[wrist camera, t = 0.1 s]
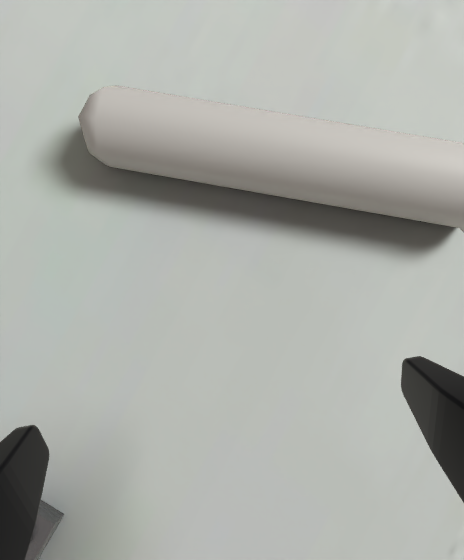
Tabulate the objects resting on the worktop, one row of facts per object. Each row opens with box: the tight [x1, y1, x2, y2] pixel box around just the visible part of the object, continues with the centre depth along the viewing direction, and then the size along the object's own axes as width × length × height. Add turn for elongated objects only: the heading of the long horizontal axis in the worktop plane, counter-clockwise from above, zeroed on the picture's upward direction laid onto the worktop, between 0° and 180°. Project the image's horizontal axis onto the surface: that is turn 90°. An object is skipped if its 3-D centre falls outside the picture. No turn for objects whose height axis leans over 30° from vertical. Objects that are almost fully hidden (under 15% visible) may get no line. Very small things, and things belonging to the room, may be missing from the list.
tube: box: [78, 86, 464, 232], centre depth 23 cm, size 5×5×25 cm
